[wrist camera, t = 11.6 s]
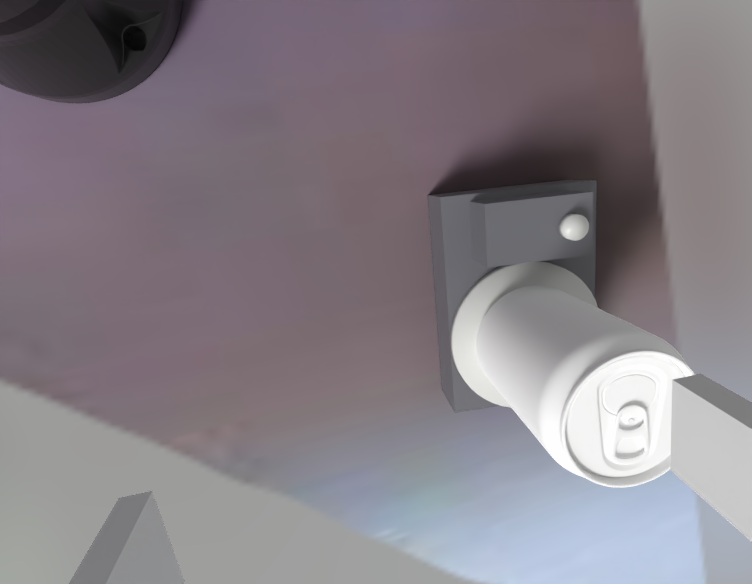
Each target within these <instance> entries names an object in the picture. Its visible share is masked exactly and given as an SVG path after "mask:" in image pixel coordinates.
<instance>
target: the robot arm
mask: <svg viewBox="0 0 752 584" xmlns="http://www.w3.org/2000/svg"><path fill="white" fill-rule="evenodd" d="M181 9H182V0H0V84H1V85H4V86H6V87H8V88H11V89H13V90H16V91H19V92H22V93H25V94H29V95H32V96H36V97H39V98H43V99H47V100H51V101H57V102H64V103H90V102H97V101H102V100H106V99H109V98H113V97H115V96H118V95H121V94H123V93H125V92H127V91H129V90H130V89H132V88H134V87H135V86H137V85H138V84H140V83H141V82H142V81H144V80H145V79H146V78H147V77H148V76H149V75H150V74H151V73H152V72H153V71H154V70H155V69H156V68H157V67H158V65H159V64H160V63H161V61H162V60H163V59H164V57H165V56H166V54H167V52H168V50H169V49H170V46H171V44H172V42H173V40H174V37H175V35H176V32H177V28H178V25H179V21H180V16H181ZM670 470H671V471H672V472H673V473H674V474H676V475H677V476H678V477H679V478H680V479H681V480H682V481H684V482H685V483H686V484H687V485H688V486H689V487H690V488H691V489H693V490H694V491H695V492H696V493H697V494H698V495H699V496H700V497H702V498H703V499H704V500H705V501H706V502H707V503H708V504H710V505H711V506H712V507H713V508H714V509H715V510H716V511H718V512H719V513H720V514H721V515H722V516H723V517H724V518H725V519H726V520H728V521H729V522H730V523H731V524H732V525H733V526H734V527H736V528H737V529H738V530H739V531H740V532H741V533H742V534H743V535H745V536H746V537H747V538H748V539H749V540H750V541H751V542H752V402H750V401H748V400H746V399H745V398H743V397H741V396H739V395H737V394H736V393H734V392H732V391H730V390H728V389H727V388H725V387H723V386H721V385H720V384H718V383H716V382H714V381H712V380H711V379H709V378H707V377H705V376H704V375H702V374H697V375H692V376H687V377H682V378H678V379H673V380H672V419H671V464H670ZM69 584H184V578H183V575H182V573H181V570H180V567H179V564H178V561H177V559H176V556H175V553H174V550H173V548H172V545H171V542H170V539H169V537H168V534H167V531H166V528H165V526H164V523H163V520H162V517H161V515H160V512H159V509H158V506H157V504H156V501H155V498H154V495H153V493H152V491H150V492H145V493H141V494H136V495H131V496H127V497H122V498H119V499H118V501H117V503H116V504H115V506H114V508H113V509H112V511H111V513H110V514H109V516H108V518H107V520H106V521H105V523H104V525H103V526H102V528H101V530H100V531H99V533H98V535H97V537H96V538H95V540H94V542H93V543H92V545H91V547H90V549H89V550H88V552H87V554H86V555H85V557H84V559H83V561H82V562H81V564H80V566H79V567H78V569H77V571H76V572H75V574H74V576H73V578H72V579H71V581H70V583H69Z"/></svg>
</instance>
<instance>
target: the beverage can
mask: <svg viewBox="0 0 752 584" xmlns="http://www.w3.org/2000/svg"><path fill="white" fill-rule="evenodd" d="M476 354H477V359H478V362H479V365H480V367H481V369H482V371H483V373H484V374H485V376H486V377H487V378H488V379H489V381H490V382H491V383H492V384H493V386H494V387H495V388H496V389H497V390H498V392H499V393H500V394H501V395H502V397H503V398H504V399H505V400H506V401H507V403H508V404H509V405H510V406H511V408H512V409H513V410H514V411H515V412H516V414H517V415H518V416H519V417H520V419H521V420H522V421H523V422H524V423H525V425H526V426H527V427H528V428H529V430H530V431H531V432H532V433H533V434H534V436H535V437H536V438H537V439H538V441H539V442H540V443H541V444H542V445H543V447H544V448H545V449H546V450H547V452H548V453H549V454H550V455H551V456H552V457H553V459H554V460H555V461H556V462H557V463H559V464H560V465H561V466H562V467H564V468H565V469H567V470H568V471H570V472H572V473H574V474H576V475H579V476H581V477H584V478H587V479H588V480H590V481H592V482H594V483H597V484H600V485H603V486H608V487H631V486H636V485H640V484H643V483H646V482H649V481H651V480H654V479H656V478H658V477H659V476H661V475H663V474H664V473H666V472H667V471H669V470H670V464H671V419H672V380H673V379H678V378H682V377H687V376H692V375H695V374H694V372H693V371H692V370H691V369H690V368H689V367H688V365H687V363H686V362H685V360H684V359H683V357H682V356H681V355H680V353H679V352H678V351H677V350H676V349H675V348H674V347H673V346H671V345H670V344H669V343H668V342H666V341H665V340H663V339H661V338H660V337H658V336H656V335H653V334H651V333H649V332H647V331H645V330H643V329H641V328H639V327H637V326H635V325H633V324H630V323H628V322H626V321H624V320H622V319H620V318H618V317H616V316H614V315H611V314H609V313H607V312H605V311H603V310H601V309H599V308H597V307H595V306H593V305H590V304H588V303H586V302H584V301H582V300H580V299H578V298H576V297H574V296H572V295H569V294H567V293H565V292H563V291H561V290H559V289H556V288H553V287H549V286H543V285H533V286H526V287H522V288H519V289H516V290H514V291H512V292H510V293H508V294H506V295H505V296H503V297H502V298H500V299H499V300H498V301H497V302H496V303H495V304H494V305H493V306H492V307H491V308H490V309H489V310H488V312H487V313H486V315H485V316H484V318H483V320H482V322H481V324H480V327H479V330H478V333H477V339H476Z"/></svg>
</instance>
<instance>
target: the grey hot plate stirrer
mask: <svg viewBox="0 0 752 584" xmlns="http://www.w3.org/2000/svg"><path fill="white" fill-rule="evenodd" d="M596 191H597V180H561V181H552V182H543V183H534V184H525V185H516V186H506V187H497V188H488V189H479V190H470V191H461V192H452V193H443V194H434V195H428V206H429V220H430V234H431V248H432V261H433V275H434V289H435V302H436V316H437V330H438V343H439V357H440V371H441V384H442V391H443V392H444V394H445V396H446V398H447V399H448V401H449V403H450V405H451V407H452V408H453V410H454V412H462V411H468V410H475V409H482V408H489V407H495V406H505V407H511V406H510V405H509V404H508V403H507V401H506V400H505V399H504V398H503V397H502V395H501V394H500V393H499V392H498V390H497V389H496V388H495V387H494V386H493V384H492V383H491V382H490V381H489V379H488V378H487V377H486V376H485V374H484V373H483V371H482V369H481V367H480V365H479V362H478V359H477V354H476V339H477V333H478V330H479V327H480V324H481V322H482V320H483V318H484V316H485V315H486V313H487V312H488V310H489V309H490V308H491V307H492V306H493V305H494V304H495V303H496V302H497V301H498V300H499V299H500V298H502V297H503V296H505V295H506V294H508V293H510V292H512V291H514V290H516V289H519V288H522V287H526V286H533V285H543V286H549V287H553V288H556V289H559V290H561V291H563V292H565V293H567V294H569V295H572V296H574V297H576V298H578V299H580V300H582V301H584V302H586V303H588V304H590V305H593V306H595V307H597V308H598V306H597V303H596V300H595V263H596Z"/></svg>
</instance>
